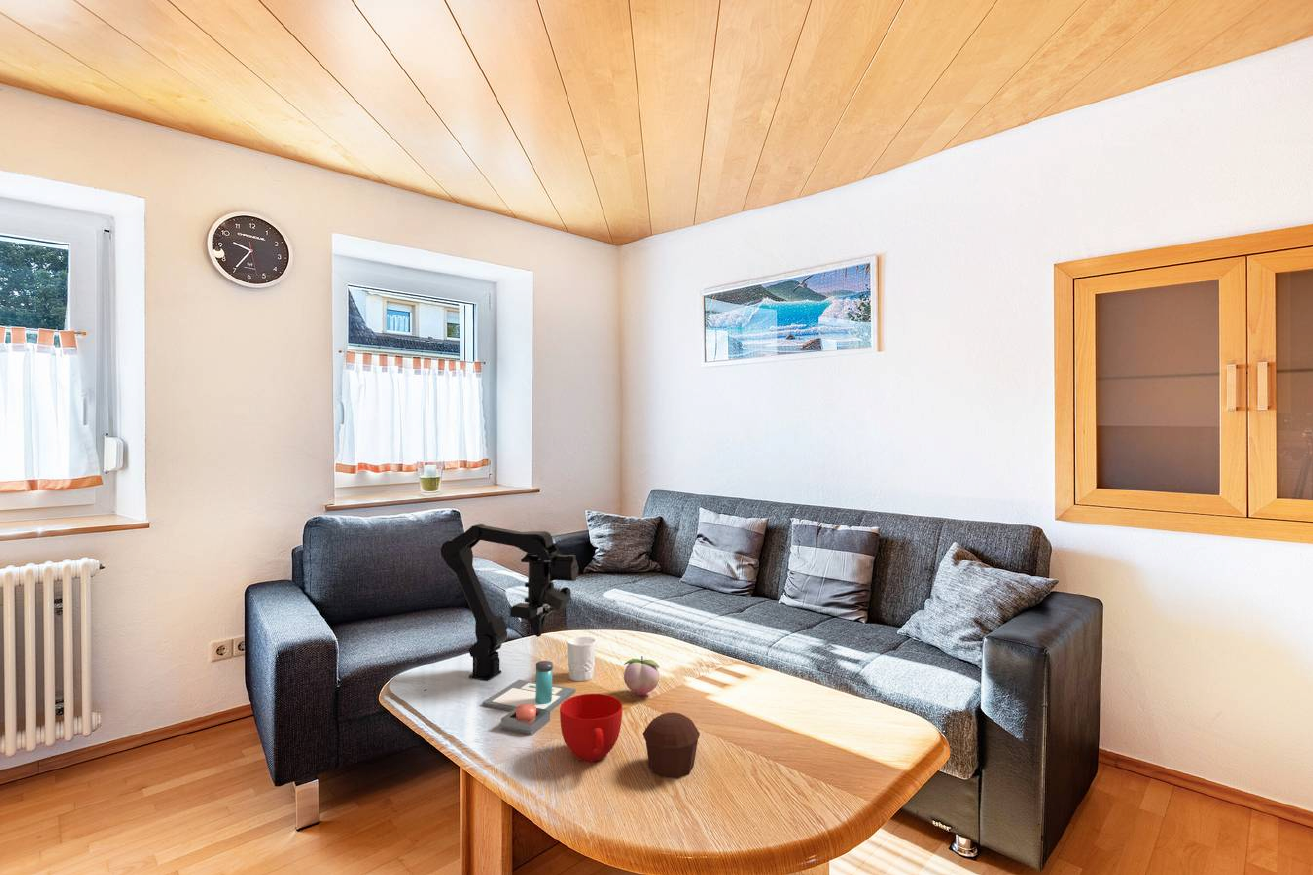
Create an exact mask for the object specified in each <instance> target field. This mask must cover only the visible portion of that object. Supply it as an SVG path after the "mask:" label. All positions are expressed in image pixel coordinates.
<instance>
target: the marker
mask: <svg viewBox="0 0 1313 875" xmlns="http://www.w3.org/2000/svg"><path fill="white" fill-rule="evenodd" d="M553 666H554V664H553V662H552V661H550V660H543V661H542V660H541V661H538V662H536V663H535V682H536V690H535V702H536V703H539V704H547V703H550V702H551V701H552V685H553Z"/></svg>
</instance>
